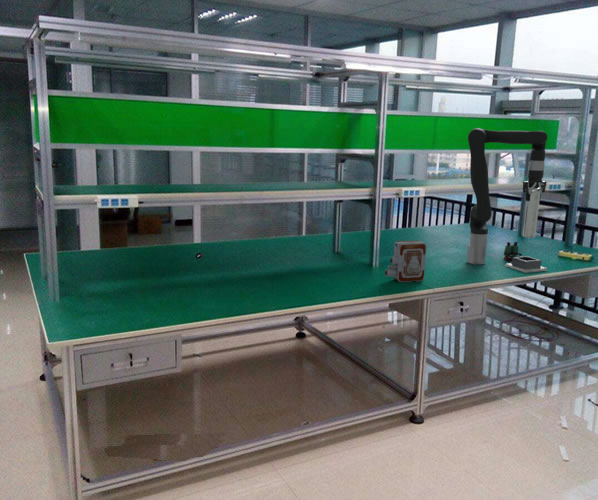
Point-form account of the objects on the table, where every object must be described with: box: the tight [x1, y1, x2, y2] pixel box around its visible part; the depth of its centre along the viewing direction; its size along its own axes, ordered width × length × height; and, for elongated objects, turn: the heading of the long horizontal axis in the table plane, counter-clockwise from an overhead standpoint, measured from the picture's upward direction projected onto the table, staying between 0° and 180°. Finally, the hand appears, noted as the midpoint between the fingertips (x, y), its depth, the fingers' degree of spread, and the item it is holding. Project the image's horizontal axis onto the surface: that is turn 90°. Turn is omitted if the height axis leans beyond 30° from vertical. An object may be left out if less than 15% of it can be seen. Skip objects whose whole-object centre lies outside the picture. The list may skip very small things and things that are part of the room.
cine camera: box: [384, 240, 427, 283], centre depth 275 cm, size 9×19×20 cm, turn 103°
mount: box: [504, 255, 548, 274], centre depth 304 cm, size 15×15×6 cm
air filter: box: [522, 189, 541, 239], centre depth 298 cm, size 6×6×25 cm
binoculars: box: [503, 241, 523, 262], centre depth 323 cm, size 9×11×10 cm
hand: (532, 200), depth 297 cm, fingers closed on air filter, 6 cm apart
